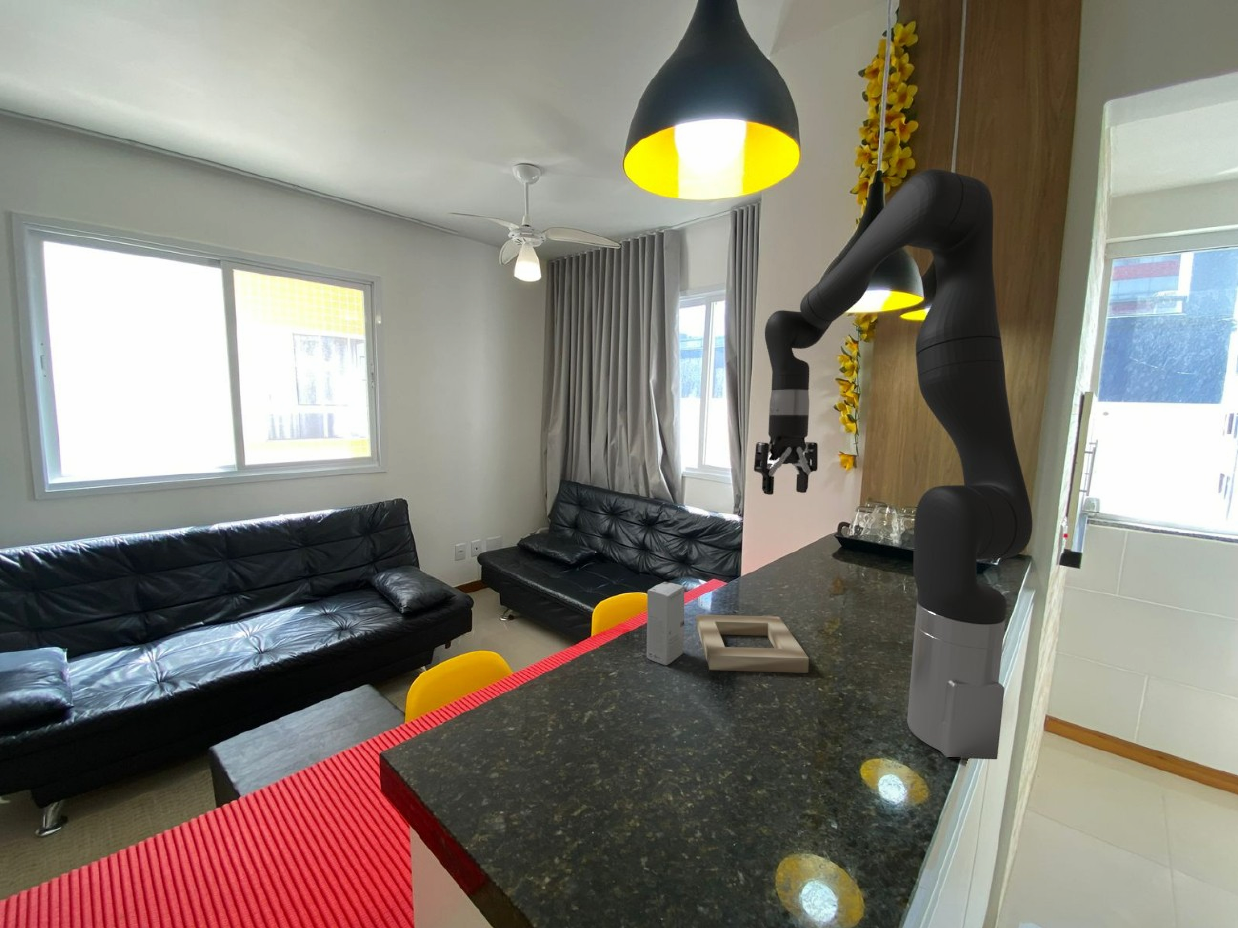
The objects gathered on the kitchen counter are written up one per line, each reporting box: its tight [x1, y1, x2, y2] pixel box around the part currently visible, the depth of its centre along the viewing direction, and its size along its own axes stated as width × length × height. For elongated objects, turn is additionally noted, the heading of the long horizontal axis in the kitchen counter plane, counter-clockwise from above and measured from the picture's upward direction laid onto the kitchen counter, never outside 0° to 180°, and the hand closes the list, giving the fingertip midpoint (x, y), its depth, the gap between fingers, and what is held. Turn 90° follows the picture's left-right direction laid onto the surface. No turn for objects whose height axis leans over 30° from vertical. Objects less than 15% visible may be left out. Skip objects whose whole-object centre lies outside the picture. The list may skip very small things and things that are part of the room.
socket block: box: [696, 614, 810, 674], centre depth 86 cm, size 16×16×2 cm
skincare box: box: [646, 581, 685, 666], centre depth 82 cm, size 6×4×12 cm
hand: (785, 493), depth 97 cm, fingers open, 8 cm apart
